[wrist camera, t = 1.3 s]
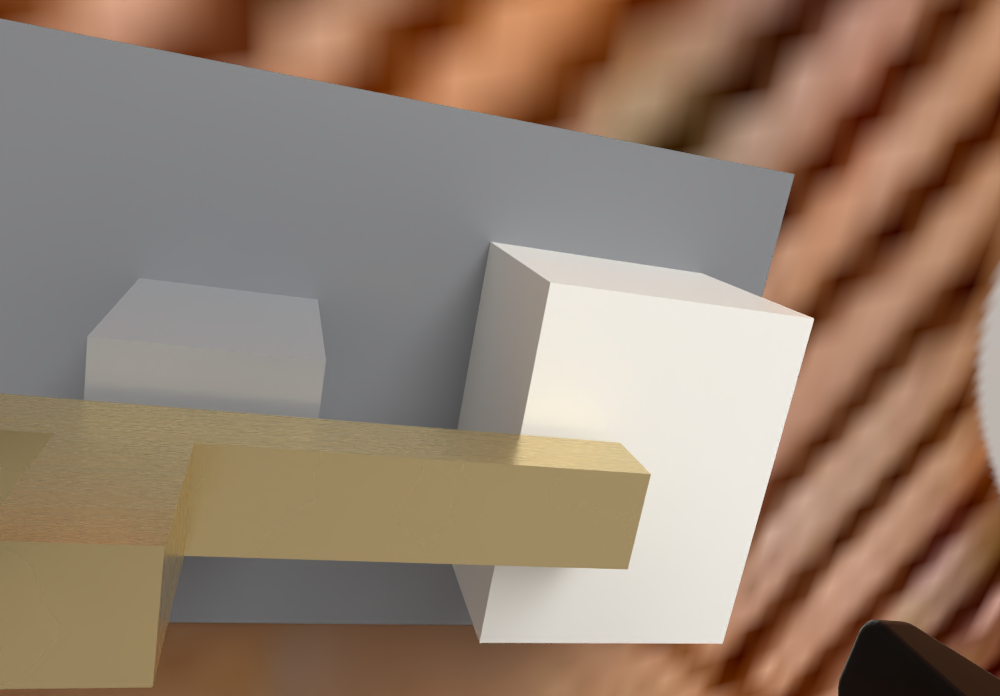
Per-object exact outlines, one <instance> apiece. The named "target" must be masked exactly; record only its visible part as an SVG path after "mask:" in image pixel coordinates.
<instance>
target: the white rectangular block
mask: <svg viewBox="0 0 1000 696" xmlns="http://www.w3.org/2000/svg"><path fill="white" fill-rule="evenodd" d="M813 321H814V318H811V317H809V316H806V315H804V314H801V313H799V312H797V311H794V310H792V309H789V308H787V307H784V306H782V305H779V304H777V303H774V302H772V301H769V300H767V299H764V298H762V297H759V296H757V295H755V294H752V293H750V292H747V291H745V290H742V289H740V288H737V287H735V286H732V285H730V284H727V283H725V282H722V281H720V280H717V279H715V278H713V277H710V276H708V275H705V274H703V273H697V272H690V271H683V270H677V269H670V268H663V267H656V266H650V265H643V264H636V263H630V262H623V261H616V260H610V259H603V258H596V257H590V256H583V255H576V254H569V253H563V252H556V251H549V250H543V249H536V248H529V247H523V246H516V245H509V244H502V243H496V242H490V247H489V252H488V258H487V264H486V269H485V275H484V281H483V287H482V292H481V298H480V304H479V309H478V315H477V321H476V326H475V332H474V338H473V343H472V349H471V355H470V360H469V366H468V372H467V377H466V383H465V389H464V394H463V400H462V406H461V411H460V417H459V423H458V428H457V430H467V431H480V432H492V433H505V434H517V435H530V436H542V437H555V438H568V439H580V440H593V441H605V442H618V443H621V444H622V445H623V446H624V447H625V448H626V449H627V450H628V451H629V452H630V453H631V454H632V455H633V456H634V457H635V458H636V459H637V460H638V461H639V462H640V463H641V464H642V466H643V467H644V468H645V469H646V470H647V471H648V472H649V473H650V474H651V476H650V480H649V484H648V488H647V492H646V496H645V501H644V505H643V509H642V513H641V517H640V521H639V525H638V529H637V534H636V538H635V542H634V546H633V550H632V554H631V558H630V562H629V567H628V570H627V569H595V568H562V567H530V566H497V565H465V564H452V566H453V569H454V572H455V574H456V577H457V580H458V583H459V586H460V589H461V592H462V594H463V597H464V600H465V603H466V606H467V609H468V612H469V614H470V617H471V620H472V623H473V626H474V629H475V632H476V634H477V637H478V640H479V643H723V640H724V637H725V633H726V630H727V626H728V623H729V619H730V615H731V612H732V608H733V605H734V601H735V598H736V594H737V591H738V587H739V584H740V580H741V576H742V573H743V569H744V566H745V562H746V559H747V555H748V552H749V548H750V545H751V541H752V537H753V534H754V530H755V527H756V523H757V520H758V516H759V513H760V509H761V505H762V502H763V498H764V495H765V491H766V488H767V484H768V481H769V477H770V474H771V470H772V466H773V463H774V459H775V456H776V452H777V449H778V445H779V442H780V438H781V435H782V431H783V427H784V424H785V420H786V417H787V413H788V410H789V406H790V403H791V399H792V396H793V392H794V388H795V385H796V381H797V378H798V374H799V371H800V367H801V364H802V360H803V357H804V353H805V349H806V346H807V342H808V339H809V335H810V332H811V328H812V325H813Z"/></svg>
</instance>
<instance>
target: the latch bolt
mask: <svg viewBox="0 0 1000 696" xmlns="http://www.w3.org/2000/svg"><path fill="white" fill-rule="evenodd" d="M650 476H651V474H650V473H649V472H648V471H647V470H646V469H645V468H644V467H643V466H642V464H641V463H640V462H639V461H638V460H637V459H636V458H635V457H634V456H633V455H632V454H631V453H630V452H629V451H628V450H627V449H626V448H625V447H624V446H623V445H622V444H621V443H618V442H605V441H593V440H580V439H568V438H555V437H542V436H530V435H517V434H505V433H492V432H480V431H467V430H454V429H442V428H429V427H417V426H404V425H392V424H379V423H366V422H354V421H341V420H329V419H316V418H304V417H291V416H278V415H266V414H253V413H241V412H228V411H216V410H203V409H190V408H178V407H165V406H153V405H140V404H128V403H115V402H102V401H90V400H77V399H65V398H52V397H40V396H27V395H14V394H2V393H0V689H61V688H143V687H153V684H154V680H155V676H156V672H157V667H158V663H159V659H160V655H161V651H162V647H163V642H164V638H165V634H166V630H167V626H168V621H169V617H170V613H171V609H172V605H173V601H174V596H175V592H176V588H177V584H178V580H179V576H180V571H181V567H182V563H183V559H184V556H206V557H238V558H271V559H303V560H335V561H368V562H400V563H433V564H465V565H497V566H530V567H562V568H595V569H627V570H628V567H629V562H630V558H631V554H632V550H633V546H634V542H635V538H636V534H637V529H638V525H639V521H640V517H641V513H642V509H643V505H644V501H645V496H646V492H647V488H648V484H649V480H650Z"/></svg>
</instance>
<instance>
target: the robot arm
mask: <svg viewBox="0 0 1000 696" xmlns="http://www.w3.org/2000/svg"><path fill="white" fill-rule="evenodd" d="M838 696H1000V679H999V678H997V677H995V676H994V675H992V674H991V673H989V672H987V671H986V670H984V669H983V668H981V667H979V666H978V665H976V664H975V663H973V662H971V661H970V660H968V659H967V658H965V657H963V656H962V655H960V654H959V653H957V652H955V651H954V650H952V649H950V648H949V647H947V646H946V645H944V644H942V643H941V642H939V641H938V640H936V639H934V638H933V637H931V636H930V635H928V634H926V633H925V632H923V631H922V630H920V629H918V628H917V627H915V626H913V625H912V624H909V623H906V622H900V621H888V620H871V621H868V622H867V623H866V624H865V625H864V626H862V628H861V630H860V632H859V634H858V636H857V639H856V641H855V643H854V646H853V648H852V651H851V653H850V655H849V658H848V660H847V662H846V665H845V667H844V670H843V672H842V674H841V677H840V680H839V686H838Z"/></svg>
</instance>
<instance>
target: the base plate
mask: <svg viewBox="0 0 1000 696" xmlns="http://www.w3.org/2000/svg"><path fill="white" fill-rule="evenodd" d="M793 178H794V174H791V173H785V172H780V171H775V170H770V169H765V168H760V167H755V166H750V165H745V164H739V163H734V162H729V161H724V160H719V159H714V158H709V157H704V156H699V155H694V154H688V153H683V152H678V151H673V150H668V149H663V148H658V147H653V146H648V145H642V144H637V143H632V142H627V141H622V140H617V139H612V138H607V137H602V136H597V135H591V134H586V133H581V132H576V131H571V130H566V129H561V128H556V127H551V126H545V125H540V124H535V123H530V122H525V121H520V120H515V119H510V118H505V117H500V116H494V115H489V114H484V113H479V112H474V111H469V110H464V109H459V108H454V107H448V106H443V105H438V104H433V103H428V102H423V101H418V100H413V99H408V98H402V97H397V96H392V95H387V94H382V93H377V92H372V91H367V90H362V89H357V88H351V87H346V86H341V85H336V84H331V83H326V82H321V81H316V80H311V79H305V78H300V77H295V76H290V75H285V74H280V73H275V72H270V71H265V70H260V69H254V68H249V67H244V66H239V65H234V64H229V63H224V62H219V61H214V60H208V59H203V58H198V57H193V56H188V55H183V54H178V53H173V52H168V51H163V50H157V49H152V48H147V47H142V46H137V45H132V44H127V43H122V42H117V41H111V40H106V39H101V38H96V37H91V36H86V35H81V34H76V33H71V32H65V31H60V30H55V29H50V28H45V27H40V26H35V25H30V24H25V23H20V22H14V21H9V20H4V19H0V393H2V394H14V395H27V396H40V397H52V398H65V399H77V400H90V401H102V402H115V403H128V404H140V405H153V406H165V407H178V408H190V409H203V410H216V411H228V412H241V413H253V414H266V415H278V416H291V417H304V418H316V419H329V420H341V421H354V422H366V423H379V424H392V425H404V426H417V427H429V428H442V429H454V430H457V428H458V423H459V417H460V411H461V406H462V400H463V394H464V389H465V383H466V377H467V372H468V366H469V360H470V355H471V349H472V343H473V338H474V332H475V326H476V321H477V315H478V309H479V304H480V298H481V292H482V287H483V281H484V275H485V269H486V264H487V258H488V252H489V247H490V242H496V243H502V244H509V245H516V246H523V247H529V248H536V249H543V250H549V251H556V252H563V253H569V254H576V255H583V256H590V257H596V258H603V259H610V260H616V261H623V262H630V263H636V264H643V265H650V266H656V267H663V268H670V269H677V270H683V271H690V272H697V273H703V274H705V275H708V276H710V277H713V278H715V279H717V280H720V281H722V282H725V283H727V284H730V285H732V286H735V287H737V288H740V289H742V290H745V291H747V292H750V293H752V294H755V295H757V296H759V297H762V295H763V291H764V288H765V284H766V280H767V276H768V272H769V269H770V265H771V261H772V257H773V253H774V250H775V246H776V242H777V238H778V235H779V231H780V227H781V223H782V219H783V216H784V212H785V208H786V204H787V200H788V197H789V193H790V189H791V185H792V181H793ZM168 622H187V623H298V624H410V625H473V623H472V620H471V617H470V614H469V612H468V609H467V606H466V603H465V600H464V597H463V594H462V592H461V589H460V586H459V583H458V580H457V577H456V574H455V572H454V569H453V566H452V564H433V563H400V562H368V561H335V560H303V559H271V558H238V557H206V556H184V559H183V563H182V567H181V571H180V576H179V580H178V584H177V588H176V592H175V596H174V601H173V605H172V609H171V613H170V617H169V621H168Z"/></svg>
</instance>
